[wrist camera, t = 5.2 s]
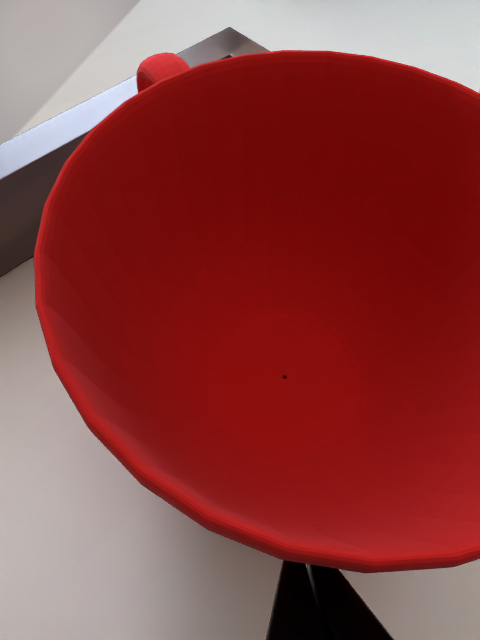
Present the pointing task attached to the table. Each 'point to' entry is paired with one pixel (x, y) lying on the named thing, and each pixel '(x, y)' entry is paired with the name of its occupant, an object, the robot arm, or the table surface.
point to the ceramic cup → (281, 302)
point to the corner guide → (72, 149)
